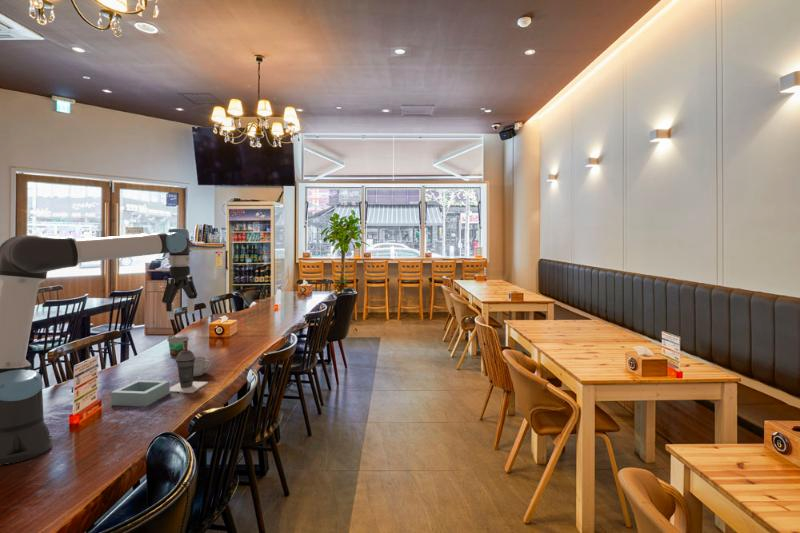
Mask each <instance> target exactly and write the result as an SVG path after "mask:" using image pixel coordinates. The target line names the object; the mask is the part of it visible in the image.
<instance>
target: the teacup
mask: <svg viewBox="0 0 800 533" xmlns="http://www.w3.org/2000/svg"><path fill="white" fill-rule="evenodd" d="M194 356H195V362H194V372H193V377H199V376H203V375H204V374H205V373H206V371H207V370H209V369H210V367H211V365H212V362H211V361H210V359H208V356H205V355H194Z"/></svg>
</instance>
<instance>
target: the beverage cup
mask: <svg viewBox="0 0 800 533" xmlns="http://www.w3.org/2000/svg"><path fill="white" fill-rule="evenodd" d="M182 345H183V351H181V352H180V353H179V354H178V355H177V356H176V359H175V362H176V365H177V372H178V378H179V383H180V386H181V388H189V387H191V386H192V384H193V381H194V376H193V372H194V362H195V356H196V355H195V353H193V352H192V351H191V349H187V350H185V349H184V342H183V340H182Z"/></svg>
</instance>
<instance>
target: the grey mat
mask: <svg viewBox="0 0 800 533" xmlns="http://www.w3.org/2000/svg"><path fill="white" fill-rule="evenodd" d="M207 384H209V382H208V381H195V380H193V384H192V386H191V387H189V388H181V386H180V382H178V383H175V384H174V385H172V386H170V393H177V392H179V394H180V393H182V394H193V393H194V392H196V391H198V390H200V389H201V388H202V387H205V386H206V385H207Z"/></svg>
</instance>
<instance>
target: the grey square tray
mask: <svg viewBox="0 0 800 533" xmlns="http://www.w3.org/2000/svg"><path fill="white" fill-rule="evenodd" d="M170 387H171V386H170V380H145V379H144V380H143V379H142V380H141V379H139V380H138V379H136V380H134V381H133V382H131V383H128V384H126V385H123V386H122V387H119V388H118V389H114V390H113V391H111V392H110V400H111V401H110V402H111V403H110V404H111V406H125V407H144V408H145V407H148V406H149V405H151V404H153V403H155V402H157V401H159V400H160V399H162V398H164V397H166V396H167V395H170V393H171V392H170ZM158 399H159V400H158Z"/></svg>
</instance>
